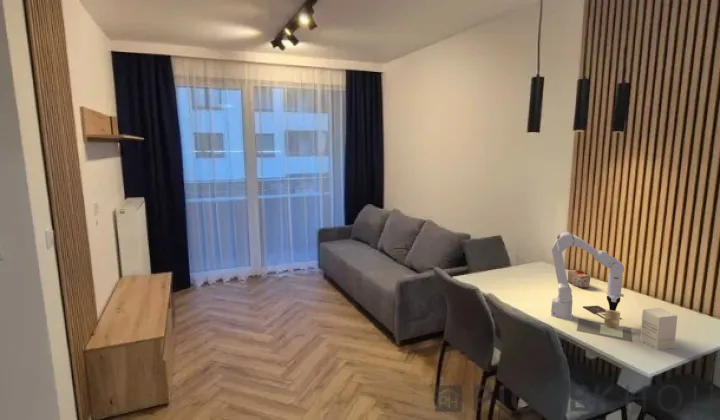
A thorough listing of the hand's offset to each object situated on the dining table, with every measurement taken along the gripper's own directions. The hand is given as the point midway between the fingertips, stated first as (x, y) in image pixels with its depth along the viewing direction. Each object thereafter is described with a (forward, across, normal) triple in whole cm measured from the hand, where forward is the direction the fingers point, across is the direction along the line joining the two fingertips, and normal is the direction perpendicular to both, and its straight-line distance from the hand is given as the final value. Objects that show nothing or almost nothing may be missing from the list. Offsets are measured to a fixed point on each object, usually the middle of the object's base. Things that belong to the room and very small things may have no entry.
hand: (612, 311), depth 196 cm
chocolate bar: (+7, +12, +4) cm, 14 cm away
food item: (+7, +54, +18) cm, 58 cm away
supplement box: (+7, -14, -17) cm, 23 cm away
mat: (+6, -10, +3) cm, 12 cm away
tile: (+6, -5, 0) cm, 8 cm away
